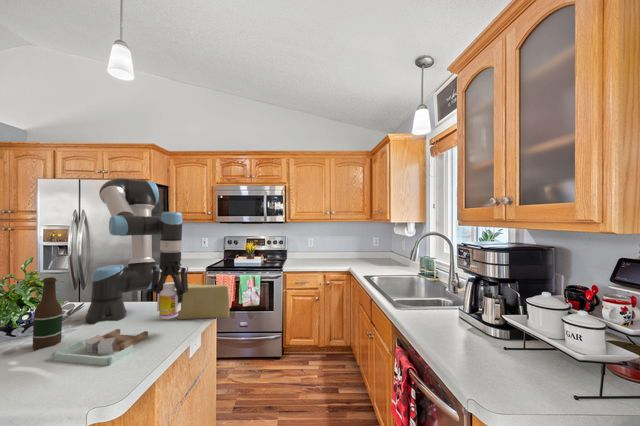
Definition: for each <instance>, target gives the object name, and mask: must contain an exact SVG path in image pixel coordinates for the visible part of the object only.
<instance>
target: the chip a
mask: <svg viewBox="0 0 640 426" xmlns="http://www.w3.org/2000/svg"><path fill="white" fill-rule="evenodd" d="M102 336H103V335H99V334H98V335H95V336H92V337H90V338H89V339H86V340H84V342H85V348H86V352H88V353H91V354H95V353H98V344H99V343H100V341H101V339H105V338H103V337H102Z"/></svg>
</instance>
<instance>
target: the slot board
mask: <svg viewBox="0 0 640 426" xmlns="http://www.w3.org/2000/svg"><path fill="white" fill-rule="evenodd" d="M101 336H102V337H103V338H105V339H107V338H114V337H115V340H116V349H115V351H122V350H124V349H125V348H127V347H129V346H131V345H136V344H138V343H139V342H141V341H143V340H145V339H147V338H148V337H149V331H146V330H145V331H142V332H140V333H138V334H136V335H129V334H121V328H116V329H114V330H112V331H109V332H107V333H105V334H103V335H101Z"/></svg>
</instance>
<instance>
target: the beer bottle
mask: <svg viewBox="0 0 640 426" xmlns="http://www.w3.org/2000/svg"><path fill="white" fill-rule="evenodd" d="M42 282H43V287H42V294H41V295H42V296H41V300H40V302H39V303H38V304H37V306H36V307H35V309H34V313H33V325H32V327H33V331H32V348H33V351H34V352H36V351H37V352H38V351H39V350H43V349H46V348H50V347H54V346H57V345H58V344H60V343H62V334H63V331H62V329H63V308H62V306H61V304H60V302H58V300H57V295H56V294H57V288H56V282H57V279H56V277H51V276H50V277H45V278H43V280H42Z"/></svg>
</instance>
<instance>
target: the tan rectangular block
mask: <svg viewBox="0 0 640 426" xmlns="http://www.w3.org/2000/svg"><path fill="white" fill-rule="evenodd" d="M230 301H231V299H230V288H229V285H228V284H197V283H188V292H186V293H184V294H183V302H181V310H180V311H178V316H177V320H194V319H222V318H223V319H224V318H225V319H226V318H229V317H230V305H231V304H230Z"/></svg>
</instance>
